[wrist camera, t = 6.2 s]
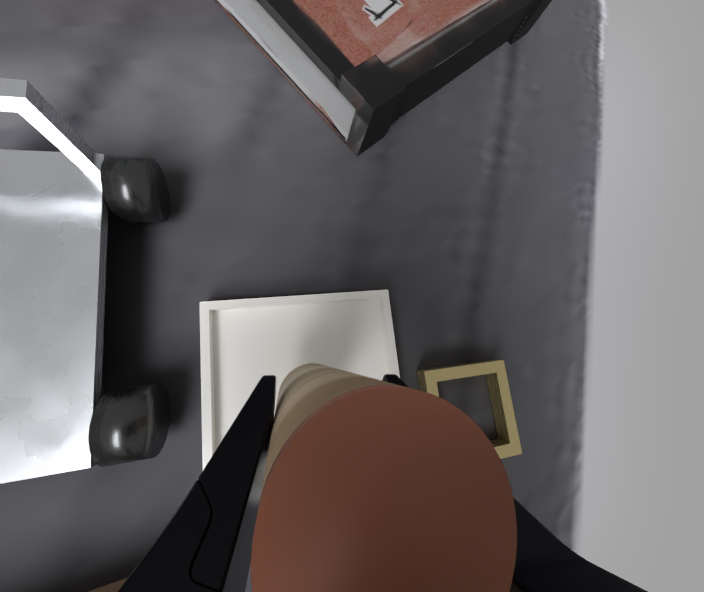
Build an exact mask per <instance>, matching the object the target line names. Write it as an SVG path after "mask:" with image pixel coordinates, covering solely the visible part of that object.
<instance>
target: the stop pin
mask: <svg viewBox="0 0 704 592" xmlns="http://www.w3.org/2000/svg"><path fill="white" fill-rule="evenodd" d="M516 550H517V522H516V512H515V505H514V500H513V495H512V490H511V487H510V483H509V480H508V477H507V474H506V471H505V469H504V466H503V464H502V462H501V460H500V457H499V455H498V454H497V452H496V450H495V448H494V447H493V445H492V443H491V442H490V440H489V439H488V438H487V436H486V435H485V433H484V432H483V431H482V429H481V428H480V427H479V426H478V425H477V424H476V423H475V422H474V421H473V420H472V419H471V418H470V417H469V416H468V415H467V414H465V413H464V412H463V411H462V410H460V409H459V408H458V407H456V406H454V405H453V404H451V403H450V402H448V401H446V400H444V399H442V398H440V397H437V396H435V395H433V394H430V393H426V392H423V391H419V390H415V389H411V388H408V387H404V386H400V385H396V384H393V383H389V382H385V381H381V380H378V379H374V378H370V377H366V376H363V375H359V374H355V373H351V372H348V371H344V370H340V369H336V368H333V367H329V366H325V365H321V364H317V363H307V364H303V365H300V366H298V367H296V368H294V369H293V370H292V371H290V372H289V373H288V374H287V375H286V377H285V378H284V380H283V381H282V383H281V386H280V389H279V393H278V399H277V404H276V410H275V416H274V422H273V427H272V433H271V439H270V444H269V450H268V456H267V461H266V467H265V473H264V478H263V484H262V490H261V496H260V501H259V507H258V513H257V518H256V524H255V530H254V535H253V541H252V554H251V580H252V592H509V591H510V588H511V584H512V579H513V573H514V568H515V561H516Z"/></svg>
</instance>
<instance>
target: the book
mask: <svg viewBox="0 0 704 592" xmlns="http://www.w3.org/2000/svg"><path fill="white" fill-rule="evenodd" d="M215 1H216V2H217V4H218V5H219V6H220V7H221V8H222V9H223V10H224V11H225V12H226V13H227V15H228V16H229V17H230V18H231V19H232V20H233V21H234V22H235V23H236V24H237V25H238V27H239V28H240V29H241V30H242V31H243V32H244V33H245V34H246V35H247V36H248V38H249V39H250V40H251V41H252V42H253V43H254V44H255V45H256V46H257V47H258V48H259V50H260V51H261V52H262V53H263V54H264V55H265V56H266V57H267V58H268V59H269V60H270V62H271V63H272V64H273V65H274V66H275V67H276V68H277V69H278V70H279V71H280V73H281V74H282V75H283V76H284V77H285V78H286V79H287V80H288V81H289V82H290V83H291V85H292V86H293V87H294V88H295V89H296V90H297V91H298V92H299V93H300V94H301V96H302V97H303V98H304V99H305V100H306V101H307V102H308V103H309V104H310V105H311V106H312V108H313V109H314V110H315V111H316V112H317V113H318V114H319V115H320V116H321V117H322V118H323V120H324V121H325V122H326V123H327V124H328V125H329V126H330V127H331V128H332V129H333V131H334V132H335V133H336V134H337V135H338V136H339V137H340V138H341V139H342V140H343V141H344V143H345V144H346V145H347V146H348V147H349V148H350V149H351V150H352V151H353V152H354V154H355V155H356V156H358V155H360V154H361V153H362V152H364V151H365V150H367V149H368V148H369V147H371V146H372V145H373V144H375V143H376V142H378V141H379V140H380V139H382V138H383V137H384V136H385V134H386V132H387V129H388V127H389V125H390V124H391V123H393V122H394V121H396V120H397V119H398V118H400V117H401V116H403V115H404V114H405V113H407V112H408V111H410V110H411V109H412V108H414V107H415V106H417V105H418V104H419V103H421V102H422V101H424V100H425V99H426V98H428V97H429V96H431V95H432V94H433V93H435V92H436V91H438V90H439V89H440V88H442V87H443V86H445V85H446V84H447V83H449V82H450V81H452V80H453V79H454V78H456V77H457V76H459V75H460V74H461V73H463V72H464V71H466V70H467V69H468V68H470V67H471V66H473V65H474V64H475V63H477V62H478V61H480V60H481V59H482V58H484V57H485V56H487V55H488V54H489V53H491V52H492V51H494V50H495V49H497V48H498V47H499V46H501V45H502V44H504V43H505V42H506V41H508V42H509V43H510V44H513V43H514V42H515V41H517V40H518V39H520V38H521V37H522V36H524V35H525V34H526V33H528V31H529V30H530V29H531V27H532V26H533V25H534V23H535V22H536V21H537V19H538V18H539V17H540V15H541V14H542V13H543V11H544V10H545V9H546V7H547V6H548V5H549V3H550V2H551V1H552V0H215Z"/></svg>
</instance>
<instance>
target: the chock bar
mask: <svg viewBox="0 0 704 592" xmlns="http://www.w3.org/2000/svg"><path fill="white" fill-rule="evenodd" d="M127 578H128V577H127ZM127 578H125V579H122V580H119V581H116V582H113V583H110V584H108V585H105V586H102V587H99V588H96V589H94V590H91V591H88V592H117V591H118V590H119V589H120V587H121V586H122V585H123V583H124V582H125V581H126V579H127Z"/></svg>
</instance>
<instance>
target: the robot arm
mask: <svg viewBox="0 0 704 592" xmlns="http://www.w3.org/2000/svg"><path fill="white" fill-rule="evenodd" d="M382 381H385V382H389V383H393V384H396V385H400V386H404V387H407V385H406V384H405V383H404V382H403V381H402V380H401V379H400V378H399V377H398V376H397V375H395V374H385V375H384V377H383V379H382ZM275 396H276V376H275V375H264V376H262V377H261V379H260V381H259V382H258V384H257V385H256V387H255V389H254V390H253V392H252V393H251V395H250V397H249V398H248V400H247V401H246V403H245V405H244V406H243V408H242V409H241V411H240V412H239V414H238V416H237V417H236V419H235V420H234V422H233V424H232V425H231V427H230V428H229V430H228V432H227V433H226V435H225V436H224V438H223V440H222V441H221V443H220V444H219V446H218V448H217V449H216V451H215V452H214V454H213V455H212V457H211V459H210V460H209V462H208V463H207V465H206V467H205V468H204V470H203V471H202V473H201V475H200V476H199V480H197V481H196V482H195V484H194V486H193V487H192V489H191V490H190V492H189V493H188V495H187V497H186V498H185V500H184V501H183V503H182V504H181V506H180V507H179V509H178V510H177V512H176V513H175V515H174V516H173V518H172V519H171V521H170V522H169V523H168V525H167V526H166V527H165V529H164V530H163V532H162V533H161V534H160V536H159V537H158V538H157V540H156V541H155V543H154V544H153V545H152V547H151V548H150V549H149V550H148V552H147V553H146V554H145V556H144V557H143V558H142V560H141V561H140V562H139V564H138V565H137V566H136V568H135V569H134V570H133V572H132V573H131V574H130V575H129V577H128V578H127V579H126V581H125V582H124V583H123V585H122V586H121V587H120V589H119V590H118V591H117V592H245V589H246V583H247V578H248V572H249V567H250V562H251V554H252V541H253V535H254V530H255V524H256V518H257V513H258V507H259V501H260V496H261V490H262V484H263V478H264V473H265V467H266V461H267V456H268V450H269V444H270V439H271V433H272V427H273V422H274V411H275ZM513 500H514V505H515V512H516V522H517V550H516V561H515V568H514V573H513V579H512V584H511V588H510V591H509V592H647V591H645V590H643V589H641V588H640V587H638V586H636V585H633V584H632V583H630V582H628V581H626V580H624V579H622V578H620V577H618V576H616V575H614V574H612V573H610V572H608V571H606V570H604V569H602V568H600V567H598V566H596V565H594V564H592V563H590V562H589V561H587V560H585V559H584V558H582V557H581V556H579V555H578V554H576V553H575V552H573V551H572V550H571V549H569V548H568V547H567V546H566V545H564V544H563V543H562V542H561V541H560V540H559V539H557V538H556V537H555V536H554V535H553V534H552V533H551V532H550V531H549V530H548V529H547V528H546V527H544V526H543V525H542V524H541V523H540V522H539V521H538V520H537V519H536V518H535V517H534V516H533V515H531V514H530V513H529V512H528V511H527V510H526V509H525V508H524V507H523V506H522V505H521V504H520V503H519V502H517V501H516V500H515V499H514V498H513Z"/></svg>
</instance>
